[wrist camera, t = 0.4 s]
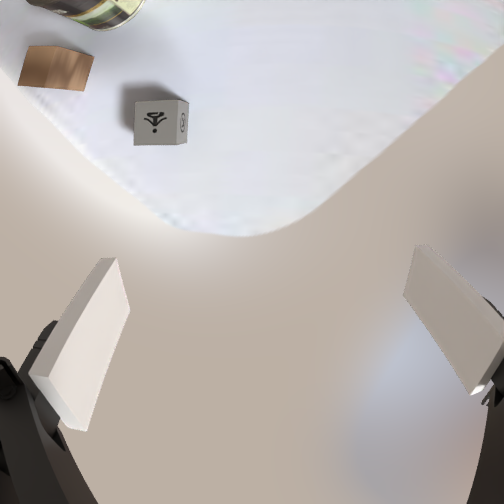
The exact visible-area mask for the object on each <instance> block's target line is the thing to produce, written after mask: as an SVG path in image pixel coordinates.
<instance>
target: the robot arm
mask: <svg viewBox="0 0 504 504" xmlns="http://www.w3.org/2000/svg"><path fill="white" fill-rule="evenodd" d="M403 296H404V297H405V299H406V300H407V302H408V303H409V304H410V306H411V307H412V308H413V310H414V311H415V313H416V314H417V315H418V317H419V318H420V320H421V321H422V322H423V324H424V325H425V327H426V328H427V330H428V331H429V332H430V334H431V335H432V337H433V338H434V340H435V341H436V343H437V344H438V346H439V347H440V349H441V350H442V352H443V353H444V355H445V356H446V358H447V359H448V361H449V363H450V364H451V366H452V367H453V369H454V370H455V372H456V374H457V375H458V377H459V378H460V380H461V382H462V383H463V385H464V386H465V388H466V390H467V391H468V393H469V395H473V394H475V393H477V392H480V391H482V390H484V388H485V387H486V385H487V384H488V382H489V381H490V379H491V380H492V381H493V383H494V385H493V386H492V388H491V389H490V391H489V392H488V393H487V395H486V396H485V398H484V399H483V400H482V403H481V404H482V405H484V403H485V402H486V400H487V399H489V402H488V404H487V405H486V406H488V414H487V421H486V428H485V433H484V439H483V444H482V449H481V453H480V458H479V463H478V466H477V470H476V474H475V478H474V481H473V485H472V488H471V492H470V495H469V498H468V501H467V504H504V317H502V314H501V313H500V312H499V311H497V309H496V308H495V306H494V305H493V304H492V303H491V302H490V301H488V300H487V299H485V298H484V297H482V296H481V295H480V294H479V293H478V292H477V291H476V290H475V289H474V288H473V287H472V286H471V285H470V284H469V283H468V282H467V281H466V280H465V279H464V278H463V277H462V276H461V275H460V274H459V273H458V272H457V271H456V270H455V269H454V268H453V267H452V266H451V265H450V264H449V263H447V262H446V261H445V260H444V259H443V258H442V257H441V256H440V255H439V254H438V253H437V252H436V251H434V250H433V249H432V248H431V247H430V246H429V245H416V246H415V249H414V254H413V258H412V263H411V266H410V270H409V274H408V278H407V282H406V286H405V289H404V293H403ZM129 312H130V307H129V304H128V300H127V296H126V293H125V289H124V285H123V282H122V278H121V274H120V270H119V266H118V261H117V258H101V259H100V260H99V262H98V263H97V264H96V266H95V267H94V269H93V270H92V271H91V273H90V274H89V276H88V277H87V279H86V280H85V281H84V283H83V284H82V286H81V287H80V289H79V290H78V292H77V293H76V295H75V296H74V298H73V299H72V301H71V302H70V304H69V305H68V307H67V309H66V310H65V312H64V313H63V315H62V316H61V318H60V319H59V321H52V322H51V323H50V324H49V325H48V326H46V327H45V328H44V329H43V331H42V332H41V334H40V336H39V337H38V341H36V342H35V344H34V346H33V349H31V351H30V352H29V354H28V356H27V357H26V359H25V361H24V363H23V364H22V366H21V368H20V370H19V371H18V373H17V371H16V370H15V368H14V367H13V365H12V364H11V362H10V360H9V359H7V358H5V357H0V504H98V503H97V501H96V499H95V498H94V496H93V494H92V492H91V491H90V489H89V487H88V485H87V484H86V482H85V480H84V478H83V476H82V474H81V472H80V471H79V469H78V467H77V465H76V463H75V461H74V459H73V457H72V455H71V453H70V451H69V448H68V446H67V444H66V441H65V439H64V437H63V435H62V432H61V431H60V429H59V428H58V426H57V425H58V423H59V420H60V419H61V420H62V421H63V422H64V424H65V425H66V426H67V427H68V428H72V429H77V430H81V431H87V429H88V426H89V422H90V419H91V416H92V413H93V410H94V407H95V404H96V401H97V398H98V395H99V392H100V389H101V386H102V383H103V380H104V377H105V374H106V372H107V369H108V366H109V363H110V360H111V358H112V355H113V352H114V350H115V347H116V345H117V342H118V340H119V337H120V335H121V332H122V329H123V327H124V324H125V322H126V320H127V317H128V315H129Z"/></svg>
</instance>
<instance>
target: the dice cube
mask: <svg viewBox="0 0 504 504" xmlns="http://www.w3.org/2000/svg"><path fill="white" fill-rule="evenodd" d="M188 112H189V103H188V102H184V101H181V100H155V101H138V102H135V116H134V145H179V144H183V143H187V130H188Z"/></svg>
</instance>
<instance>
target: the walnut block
mask: <svg viewBox="0 0 504 504" xmlns="http://www.w3.org/2000/svg"><path fill="white" fill-rule="evenodd" d="M93 60H94V57H92V56H89V55H86V54H83V53H79V52H76V51H73V50H69V49H66V48H62V47H59V46H29V48H28V51H27V54H26V57H25V60H24V64H23V67H22V71H21V74H20V78H19V82H18V86H31V87H42V88H55V89H66V90H76V91H84V89H85V86H86V82H87V79H88V76H89V72H90V69H91V66H92V63H93Z"/></svg>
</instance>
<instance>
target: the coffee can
mask: <svg viewBox="0 0 504 504" xmlns="http://www.w3.org/2000/svg"><path fill="white" fill-rule="evenodd" d="M26 1H27V2H28V3H30V4H31V5H34V6H40V7H43V8H45V9H48V10H50V11H53V12H55V13H58V14H60V15H63V16H65V17H68V18H70V19H72V20H75V21H77V22H79V23H81V24H83V25H86V26H88V27H89V28H91V29H93V30H97V31H108V30H112V29H115V28H117V27H119V26H121V25H123V24H125V23H126V22H128V21H129V20H130V19H132V18H133V17H134V16H135V15H136V14H137V13H138V12H139V10H140V9H141V8H142V6H143V4H144V3H145V0H26Z"/></svg>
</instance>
